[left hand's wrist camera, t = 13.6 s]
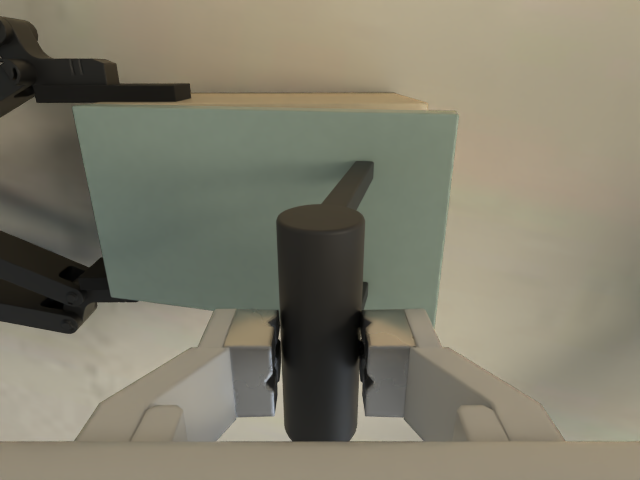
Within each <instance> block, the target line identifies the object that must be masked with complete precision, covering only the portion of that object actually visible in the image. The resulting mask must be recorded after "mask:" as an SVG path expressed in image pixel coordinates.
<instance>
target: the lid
mask: <svg viewBox="0 0 640 480" xmlns="http://www.w3.org/2000/svg"><path fill="white" fill-rule="evenodd" d="M72 110H73V115H74V120H75V125H76V130H77V134H78V139H79V144H80V149H81V154H82V159H83V164H84V168H85V173H86V178H87V183H88V188H89V193H90V197H91V202H92V207H93V212H94V217H95V222H96V226H97V231H98V236H99V241H100V246H101V251H102V256H103V260H104V265H105V270H106V275H107V280H108V285H109V289H110V294H111V297H114V298H122V299H129V300H137V301H144V302H152V303H159V304H167V305H174V306H182V307H189V308H197V309H204V310H212V311H214V310H216V309H232V308H236V309H275V310H279V317H280V329H281V353H282V378H283V402H284V426H285V430H286V433H287V434H288V436H289V438H290V439H291V440H292V441H293V442H298V441H350V439H351V438H352V437H353V435H354V433H355V431H356V428H357V413H358V388H359V343H360V339H361V331H360V316H361V310H381V309H418V308H423V309H425V310H426V312H427V314H428V317H429V319H430V321H431V323H432V326H433V328H435V320H436V311H437V302H438V294H439V285H440V276H441V267H442V259H443V250H444V241H445V233H446V224H447V215H448V207H449V198H450V189H451V181H452V172H453V163H454V155H455V146H456V137H457V129H458V120H459V115H458V113H457V111H439V110H388V109H337V108H286V107H235V106H183V105H132V104H85V105H75V106H72Z"/></svg>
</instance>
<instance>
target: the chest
mask: <svg viewBox="0 0 640 480" xmlns="http://www.w3.org/2000/svg"><path fill="white" fill-rule="evenodd" d="M92 104H132V105H183V106H235V107H286V108H337V109H388V110H428V103H426V102H423V101H419V100H416V99H413V98H409V97H406V96H402V95H399V94H396V93H394V92H387V93H191V98H190V99H186V100H182V101H178V102H97V103H92Z"/></svg>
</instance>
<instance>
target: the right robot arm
mask: <svg viewBox="0 0 640 480" xmlns="http://www.w3.org/2000/svg"><path fill="white" fill-rule="evenodd" d="M37 41H38V34H37V30H36V29H35V27H34V26H33V25H32V24H31V23H30V22H28V21H25V20H19V19H13V18H7V17H2V16H0V56H1V58H0V62H4V63H3V64H1V65H0V117H2V116H4V115H5V114H7V113H8V112H10V111H12V110H13V109H15V108H16V107H18V106H20V105H21V104H23V103H24V102H26V101H28V100H29V99H31V98H32V97H34V96H35V98H36V102H37V103H97V102H178V101H182V100H186V99H190V98H191V91H190V84H120V83H119V77H118V71H117V65H116V63H113V62H111V61H108V60H106V59H53V58H51V57H49V56H48V55H46V54H45V53H44V52H43V50H42V49H41V47H40V46H39V44H38V42H37ZM97 302H138V301H137V300H129V299H122V298H114V297H111V294H110V289H109V285H108V280H107V275H106V270H105V265H104V260H103V258H100V259H99V260H97V261H96V262H95V263H94V264H93V265H92V266H91V267H87V266H84V265H82V264H79V263H77V262H75V261H72V260H70V259H67V258H65V257H63V256H60V255H58V254H56V253H53V252H51V251H48V250H46V249H44V248H41V247H39V246H36V245H34V244H32V243H29V242H27V241H24V240H22V239H20V238H17V237H15V236H12V235H10V234H8V233H5V232H3V231H0V321H3V322H8V323H13V324H19V325H24V326H29V327H35V328H40V329H45V330H51V331H56V332H61V333H67V334H71V333H74V332H75V331H76V330H77V329H78V328H79V327H80V326H81V325H82V324H83V323H84V322H85V321H86V320H87V318H88V317H89V316H90V315H91V314H92V313H93V312H94V311H95V310H96V308H97Z"/></svg>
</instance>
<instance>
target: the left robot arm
mask: <svg viewBox="0 0 640 480" xmlns="http://www.w3.org/2000/svg"><path fill="white" fill-rule="evenodd" d="M279 329H280V317H279V310H275V309H236V308H232V309H216V310H214V311H213V314H212V316H211V318H210V320H209V323H208V325H207V327H206V329H205V332H204V334H203V336H202V338H201V341H200V343H199V345H198V347H191V348H189V349H188V350H186V351H185V352H183V353H181V354H180V355H178V356H176V357H175V358H173V359H171V360H170V361H168V362H166V363H165V364H163V365H162V366H160V367H158V368H157V369H155V370H153V371H152V372H150V373H148V374H147V375H145V376H144V377H142V378H140V379H139V380H137V381H135V382H134V383H132V384H130V385H129V386H127V387H125V388H124V389H122V390H121V391H119V392H117V393H116V394H114V395H112V396H111V397H109V398H107V399H106V400H104V401H102V402H101V403H99V405H98V406H97V408H96V409H95V411H94V412H93V414H92V415H91V417H90V418H89V420H88V421H87V423H86V424H85V426H84V427H83V429H82V430H81V432H80V433H79V435H78V436H77V438H76V439H75V441H0V480H640V441H565V440H564V438H563V437H562V435H561V434H560V432H559V430H558V429H557V427H556V426H555V424H554V423H553V421H552V420H551V418H550V417H549V415H548V414H547V412H546V411H545V409H544V408H543V406H542V405H541V404H540V403H539V402H537V401H535V400H534V399H532V398H530V397H529V396H527V395H525V394H524V393H522V392H521V391H519V390H517V389H516V388H514V387H512V386H511V385H509V384H508V383H506V382H504V381H503V380H501V379H499V378H498V377H496V376H494V375H493V374H491V373H490V372H488V371H486V370H485V369H483V368H481V367H480V366H478V365H476V364H475V363H473V362H472V361H470V360H468V359H467V358H465V357H463V356H462V355H460V354H459V353H457V352H455V351H454V350H452V349H450V348H449V347H442V346H441V343H440V341H439V339H438V337H437V334H436V332H435V330H434V328H433V326H432V323H431V321H430V319H429V317H428V314H427V312H426V310H425V309H423V308H418V309H381V310H361V316H360V331H361V338H362V339H361V340H360V343H359V371H360V380H361V382H362V383H363V391H362V396H363V403H364V410H365V416H375V417H404V420H405V421H406V422H407V423H408V424H409V425H410V426H411V428H412V429H413V430H414V431H415V432H416V433H417V434H418V435H419V436H420V437H421V438H422V440H423V441H298V442H248V441H217V440H218V439H219V437H220V436H221V435H222V434H223V433H224V432H225V431H226V430H227V429H228V428H229V427H230V425H231V424H232V423H233V422H234V421H235V420H236V417H264V416H275V409H276V401H277V383H278V382H279V379H280V368H281V341H280V340H279V339H278V336H279Z"/></svg>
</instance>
